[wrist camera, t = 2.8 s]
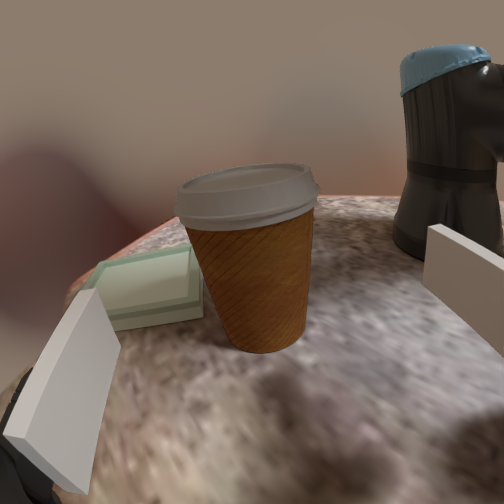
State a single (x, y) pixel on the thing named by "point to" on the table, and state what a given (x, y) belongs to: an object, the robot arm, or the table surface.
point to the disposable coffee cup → (254, 248)
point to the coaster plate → (150, 288)
